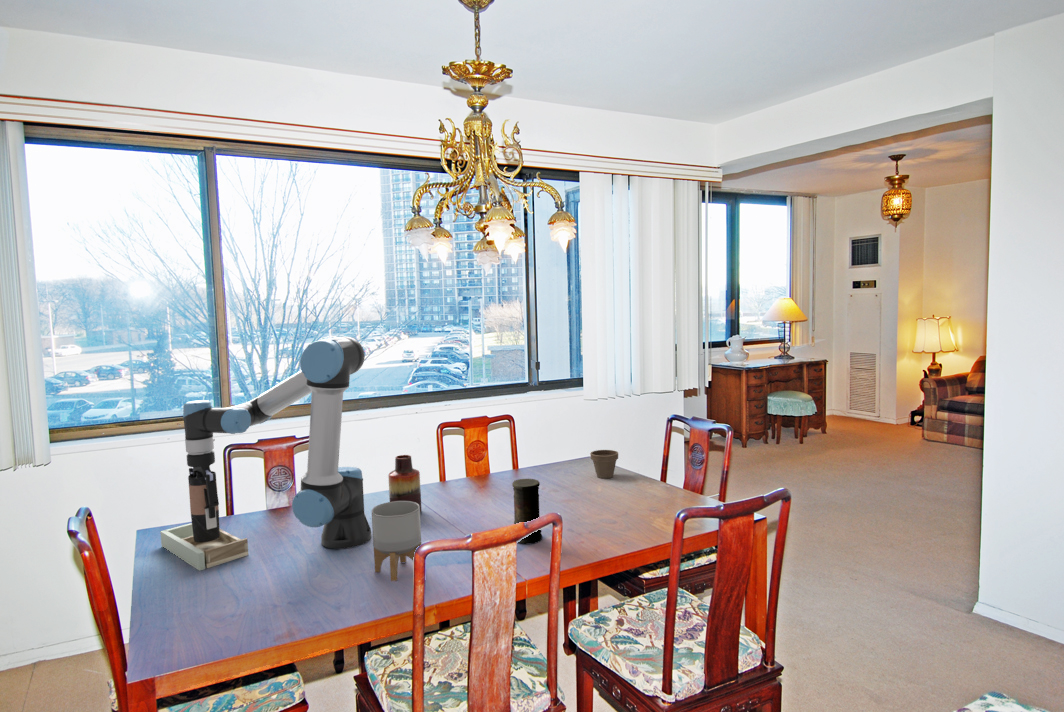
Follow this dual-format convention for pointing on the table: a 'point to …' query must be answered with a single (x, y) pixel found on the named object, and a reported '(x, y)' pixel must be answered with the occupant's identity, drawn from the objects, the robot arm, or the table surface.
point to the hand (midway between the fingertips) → (206, 524)
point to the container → (526, 505)
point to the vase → (404, 481)
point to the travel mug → (201, 511)
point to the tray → (221, 548)
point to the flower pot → (604, 462)
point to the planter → (395, 533)
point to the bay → (183, 545)
